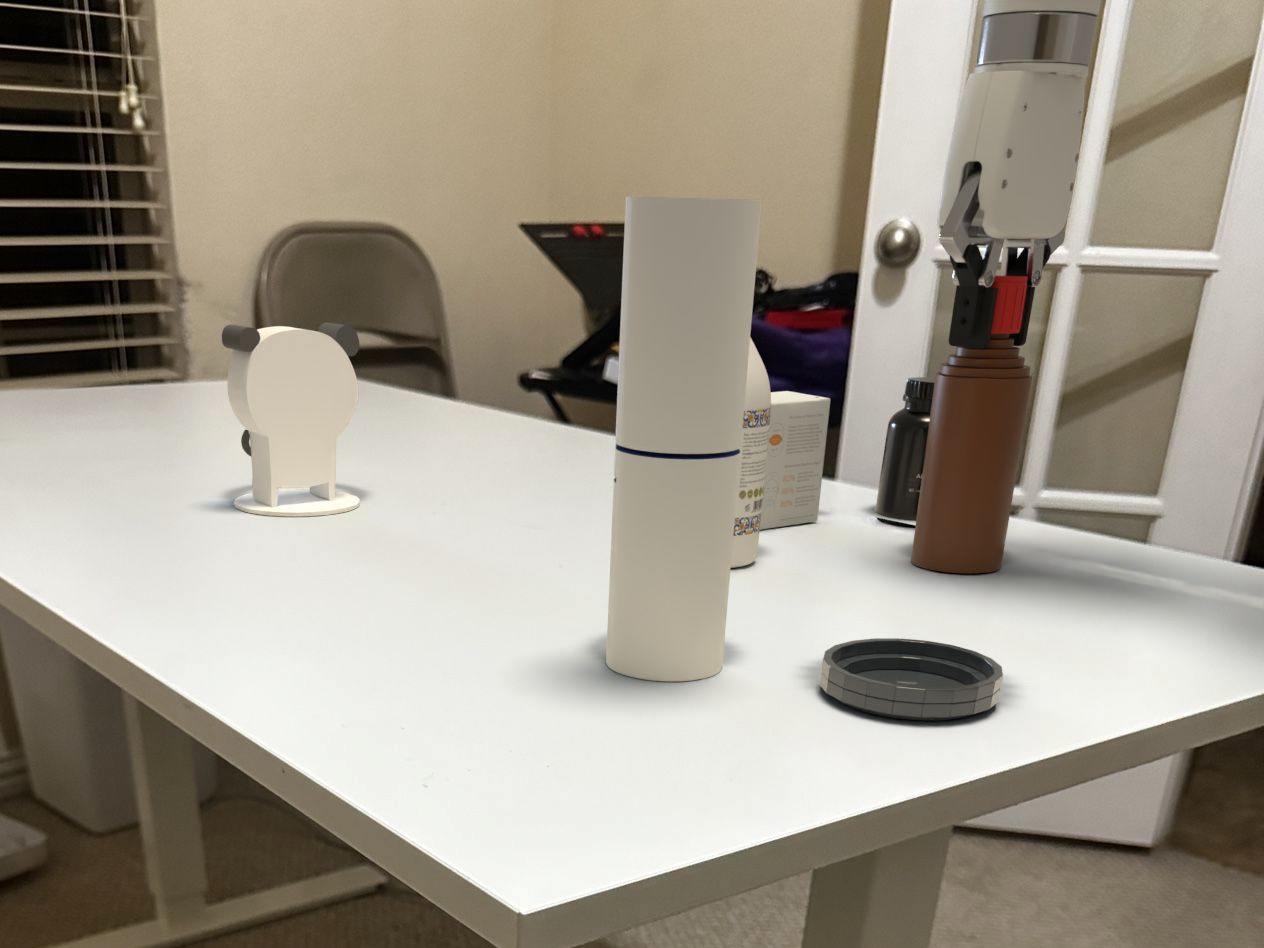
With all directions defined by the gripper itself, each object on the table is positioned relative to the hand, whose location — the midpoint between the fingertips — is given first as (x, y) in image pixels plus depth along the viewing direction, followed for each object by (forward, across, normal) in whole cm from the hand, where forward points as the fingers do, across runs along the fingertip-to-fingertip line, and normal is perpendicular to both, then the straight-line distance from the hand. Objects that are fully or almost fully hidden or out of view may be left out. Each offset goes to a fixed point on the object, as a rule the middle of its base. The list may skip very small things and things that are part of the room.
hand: (986, 342), depth 102 cm
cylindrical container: (+16, +38, +6) cm, 42 cm away
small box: (+16, 0, -20) cm, 26 cm away
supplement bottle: (+16, -11, -12) cm, 23 cm away
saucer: (+16, +31, +19) cm, 40 cm away
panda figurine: (+16, +30, -50) cm, 61 cm away
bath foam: (+16, +15, -12) cm, 25 cm away
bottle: (+16, 0, 0) cm, 16 cm away
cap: (-1, 0, 0) cm, 1 cm away
